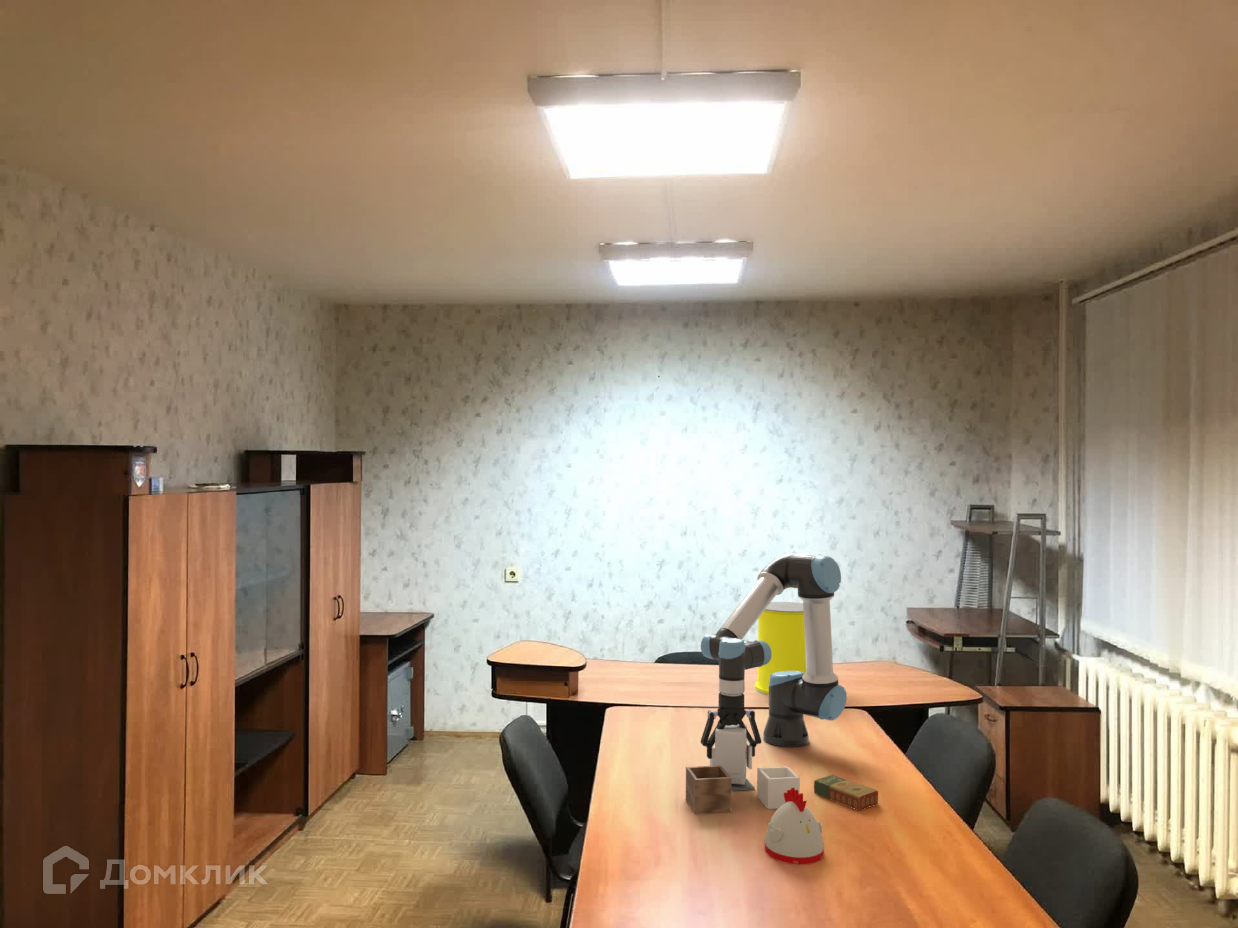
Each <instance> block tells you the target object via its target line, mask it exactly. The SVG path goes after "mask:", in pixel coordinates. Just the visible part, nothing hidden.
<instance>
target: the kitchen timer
mask: <svg viewBox="0 0 1238 928" xmlns="http://www.w3.org/2000/svg"><path fill="white" fill-rule="evenodd" d="M784 798H785V802H786V803H785V804H783V805H782V806H781V807H779V808H777V809H776V811H775V812H774V813H773V814H772V817H771V818H770V821H769V822H767V827H766V830H767V831H766V834H765V837H764V851H765V853H766V854H767V855H768V856H769V857H770V858H773V859H774V860H776V861H779V862H782V863H785V864H790V865H809V864H814V863H817V862H820V861H821V860H822V859H824V855H825V853H824V852H825V849H824V848H825V847H824V846H825V845H824V840H823V835H822V833H823V827H822V823H821V821H820V820H817V819H816V817H815V816H814V814H813V813H812V811H811V810H810V808H809V807H807V806H806V805H807V801H808V800H804V794H803V792H802V793H801V792H800V794H799V792H798V790H795V788H791V790H787V792H786V793H784Z"/></svg>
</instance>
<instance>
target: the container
mask: <svg viewBox="0 0 1238 928" xmlns="http://www.w3.org/2000/svg"><path fill="white" fill-rule="evenodd" d="M757 621H758V623H757V626H758V627H757V629H758V630H757V641H760V640H761V641H765V642H766V643H767V644H768V645H769V646H770V648H771V652H772V657H771V660H770V661H769V663H767V664H765V665H763V666H761V667H757V681H756V682H755V683H754V689H755V690H756V691H757V692H759V693H760V694H764V695H767V696H769V679H770V676H771V674H773V673H776V672H781V671H801V672H803V673H804V674H805V673H806V652H805V631H804V611H803V602H794V601H793V602H792V601H771V602H770V604H769V605H768V606H767V608H766V609H765V610H764V612H763V613H762V614H761V615H760V617H759V618H758V619H757Z"/></svg>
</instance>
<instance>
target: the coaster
mask: <svg viewBox="0 0 1238 928" xmlns="http://www.w3.org/2000/svg"><path fill="white" fill-rule="evenodd" d="M753 790H754V791H755V790H756V787H755V786H754V785H753V784H752V783H751V781H749V780H748V778H747V777H746V781H745V785H742V784H731V792H735V791H753Z"/></svg>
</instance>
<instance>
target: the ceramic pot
mask: <svg viewBox="0 0 1238 928" xmlns="http://www.w3.org/2000/svg"><path fill="white" fill-rule="evenodd" d="M756 769H757V770H756V772H757V773H756V774H757V775H756V778H757V779H756V797H757V799H758V800H759V801H760V802H761V803H762V804H763V805H764V806H765V807H766V808H767V810H775V809H776V810H777V809H778V808H779V807H781V806H782V805H783V804H785V803H786V802H785V798H784V793H786V792H787V790H791V788H795V790H798V792H799V794H800V793H801V791H800V790H801V787H800V786H801V784H800V783H801V777H799V775H798V774H797V773H795V771H793V770H792V768H790V767H789V766H771V767H766V766H765V767H757V768H756Z"/></svg>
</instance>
